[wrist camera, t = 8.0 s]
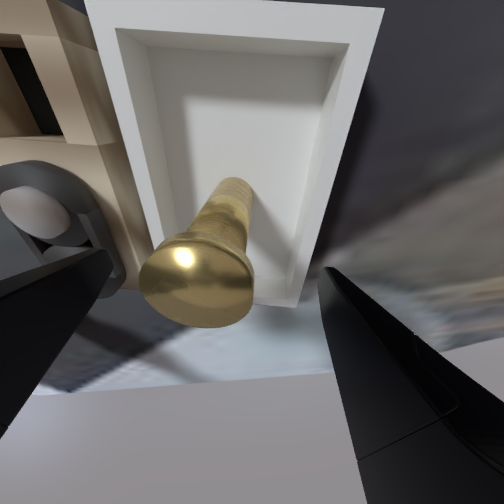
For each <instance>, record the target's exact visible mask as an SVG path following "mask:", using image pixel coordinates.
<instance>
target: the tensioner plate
mask: <svg viewBox="0 0 504 504" xmlns="http://www.w3.org/2000/svg"><path fill="white" fill-rule="evenodd" d="M0 47H13V48H26V49H27V51H28V53H29V56H30V58H31V60H32V63H33V65H34V67H35V69H36V72H37V74H38V76H39V79H40V81H41V83H42V86H43V88H44V90H45V93H46V95H47V97H48V100H49V102H50V104H51V107H52V109H53V111H54V113H55V116H56V118H57V120H58V123H59V125H60V127H61V130H62V132H63V134H64V135H51V134H42V133H41V131H40V129H39V127H38V125H37V123H36V121H35V119H34V117H33V115H32V113H31V110H30V108H29V106H28V104H27V102H26V100H25V98H24V96H23V94H22V92H21V90H20V88H19V86H18V84H17V82H16V80H15V78H14V76H13V73H12V71H11V69H10V67H9V65H8V63H7V61H6V59H5V57H4V55H3V53H2V51H1V49H0V208H1V209H2V210H3V212H4V213H5V215H6V216H7V217H8V218H9V220H10V221H11V223H12V224H13V225H14V227H15V228H16V229H17V231H18V232H19V234H20V235H21V236H22V238H23V239H24V240H25V242H26V243H27V245H28V246H29V247H30V249H31V250H32V251H33V253H34V254H35V256H36V257H37V258H38V260H39V261H40V262H41V264H42V265H46V264H49V263H52V262H55V261H57V260H60V259H63V258H66V257H69V256H72V255H74V254H77V253H80V252H83V251H86V250H89V249H92V248H105V249H107V250H108V252H109V254H110V256H111V258H112V260H113V263H114V269H113V271H112V273H111V275H110V276H109V278H108V280H107V282H106V284H105V285H104V287H103V289H102V291H101V293H100V294H99V296H98V298H108V297H110V296H112V295H114V294H115V293H116V292H117V290H118V289H129V290H141V289H140V286H139V273H140V270H141V268H142V266H143V264H144V263H145V262H146V260H147V259H148V258H149V257H150V255H151V254H152V253H153V252H154V251H155V250H154V246H153V243H152V239H151V236H150V232H149V229H148V225H147V222H146V218H145V215H144V211H143V207H142V204H141V200H140V197H139V193H138V190H137V186H136V183H135V179H134V176H133V172H132V169H131V165H130V161H129V158H128V154H127V151H126V147H125V144H124V140H123V137H122V133H121V130H120V126H119V123H118V119H117V115H116V112H115V108H114V105H113V101H112V98H111V94H110V91H109V87H108V84H107V80H106V77H105V73H104V69H103V66H102V62H101V59H100V55H99V52H98V48H97V45H96V41H95V38H94V34H93V30H92V27H91V23H90V20H89V17H88V16H86V15H84V14H82V13H80V12H78V11H77V10H75V9H73V8H71V7H69V6H68V5H66V4H64V3H62V2H60V1H58V0H0Z"/></svg>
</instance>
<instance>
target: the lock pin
mask: <svg viewBox="0 0 504 504" xmlns="http://www.w3.org/2000/svg"><path fill="white" fill-rule="evenodd" d="M253 199H254V195H253V191H252V188H251V187H250V185H249V184H248V183H247V182H246V181H245V180H243V179H241V178H238V177H228V178H225V179H223V180H222V181H221V182H220V183H219V184H218V185H217V187H216V188H215V190H214V191H213V192H212V194H211V195H210V197H209V198H208V200H207V201H206V203H205V204H204V206H203V207H202V209H201V210H200V211H199V213H198V214H197V216H196V217H195V219H194V220H193V222H192V223H191V225H190V226H189V228H188V229H187V230H186V232H182V233H177V234H175V235H172V236H170V237H168V238H167V239H165V240H164V241H163V242H161V243H160V245H159V246H158V247H157V248H156V249H155V251H154V252H153V253H152V254H151V255H150V257H149V258H148V259H147V260H146V262H145V263H144V264H143V266H142V268H141V270H140V273H139V286H140V289H141V291H142V294H143V296H144V297H145V299H146V300H147V301H148V302H149V304H150V305H151V306H152V307H153V308H154V309H156V310H157V311H158V312H159V313H161V314H162V315H164V316H166V317H167V318H169V319H171V320H173V321H176V322H178V323H181V324H184V325H188V326H192V327H198V328H220V327H225V326H228V325H231V324H234V323H236V322H238V321H239V320H241V319H242V318H243V317H245V316H246V314H247V313H248V312H249V310H250V309H251V306H252V303H253V296H254V281H255V275H254V269H253V266H252V264H251V262H250V260H249V258H248V257H247V256H246V248H247V241H248V234H249V227H250V220H251V213H252V206H253Z"/></svg>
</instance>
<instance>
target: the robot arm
mask: <svg viewBox="0 0 504 504" xmlns="http://www.w3.org/2000/svg"><path fill="white" fill-rule="evenodd" d="M113 269H114V263H113V260H112V258H111V256H110V254H109V252H108V250H107V249H105V248H92V249H89V250H86V251H83V252H80V253H77V254H74V255H72V256H69V257H66V258H63V259H60V260H57V261H55V262H52V263H49V264H46V265H43V266H40V267H37V268H35V269H32V270H29V271H26V272H23V273H20V274H17V275H15V276H12V277H9V278H6V279H3V280H0V439H1V437H2V436H3V435H4V433H5V432H6V430H7V429H8V426H9V425H10V424H11V423H12V421H13V420H14V418H15V417H16V415H17V414H18V412H19V411H20V410H21V408H22V407H23V405H24V404H25V402H26V401H27V399H28V398H29V397H30V395H31V394H32V392H33V391H34V389H35V388H36V387H37V385H38V384H39V382H40V381H41V379H42V378H43V376H44V375H45V374H46V372H47V371H48V369H49V368H50V366H51V365H52V363H53V362H54V361H55V359H56V358H57V356H58V355H59V353H60V352H61V350H62V349H63V348H64V346H65V345H66V343H67V342H68V340H69V339H70V337H71V336H72V335H73V333H74V332H75V330H76V329H77V327H78V326H79V325H80V323H81V322H82V320H83V319H84V317H85V316H86V314H87V313H88V311H89V310H90V309H91V307H92V306H93V304H94V303H95V301H96V300H97V298H98V296H99V294H100V293H101V291H102V289H103V287H104V285H105V284H106V282H107V280H108V278H109V276H110V275H111V273H112V271H113ZM318 294H319V302H320V310H321V317H322V322H323V327H324V331H325V335H326V339H327V343H328V347H329V351H330V355H331V359H332V363H333V367H334V371H335V375H336V379H337V383H338V386H339V391H340V395H341V399H342V403H343V407H344V411H345V415H346V419H347V423H348V427H349V431H350V435H351V439H352V443H353V447H354V451H355V455H356V459H357V460H358V462H357V463H358V468H359V472H360V476H361V480H362V484H363V488H364V492H365V496H366V500H367V504H504V402H503V401H501V400H500V399H498V398H497V397H496V396H495V395H493V394H492V393H490V392H489V391H488V390H487V389H485V388H484V387H482V386H481V385H480V384H478V383H477V382H476V381H474V380H473V379H472V378H470V377H469V376H468V375H466V374H465V373H464V372H462V371H461V370H460V369H458V368H457V367H456V366H454V365H453V364H452V363H450V362H449V361H448V360H446V359H445V358H444V357H443V356H442V355H440V354H439V353H438V352H437V351H435V350H434V349H433V348H432V347H430V346H429V345H428V344H427V343H425V342H424V341H423V340H422V339H421V338H419V337H418V336H417V335H414V333H413V332H412V331H411V330H410V329H408V328H407V327H406V326H405V325H403V324H402V323H401V322H400V321H399V320H397V319H396V318H395V317H394V316H393V315H391V314H390V313H389V312H388V311H386V310H385V309H384V308H383V307H382V306H380V305H379V304H378V303H377V302H376V301H374V300H373V299H372V298H371V297H369V296H368V295H367V294H366V293H365V292H363V291H362V290H361V289H360V288H359V287H357V286H356V285H355V284H354V283H352V282H351V281H350V280H349V279H348V278H346V277H345V276H344V275H343V274H341V273H340V272H339V271H338V270H337V269H335V268H333V267H324V268H323V269H322V271H321V274H320V277H319V280H318Z"/></svg>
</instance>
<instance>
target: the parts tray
mask: <svg viewBox="0 0 504 504" xmlns="http://www.w3.org/2000/svg"><path fill="white" fill-rule="evenodd" d="M84 2H85V6H86V9H87V13H88V16H89V20H90V23H91V27H92V30H93V34H94V38H95V41H96V45H97V48H98V52H99V55H100V59H101V62H102V66H103V69H104V73H105V77H106V80H107V84H108V87H109V91H110V94H111V98H112V101H113V105H114V108H115V112H116V115H117V119H118V123H119V126H120V130H121V133H122V137H123V140H124V144H125V147H126V151H127V154H128V158H129V161H130V165H131V169H132V172H133V176H134V179H135V183H136V186H137V190H138V193H139V197H140V200H141V204H142V207H143V211H144V215H145V218H146V222H147V225H148V229H149V232H150V236H151V239H152V243H153V246H154V250H155V249H156V248H157V247H158V246H159V245H160V243H161V242H163V241H164V240H165V239H167V238H168V237H170V236H172V235H175V234H177V233H182V232H186V230H187V229H188V228H189V226H190V225H191V223H192V222H193V220H194V219H195V217H196V216H197V214H198V213H199V211H200V210H201V209H202V207H203V206H204V204H205V203H206V201H207V200H208V198H209V197H210V195H211V194H212V192H213V191H214V190H215V188H216V187H217V185H218V184H219V183H220V182H221V181H222V180H223V179H225V178H228V177H238V178H241V179H243V180H245V181H246V182H247V183H248V184H249V185H250V187H251V188H252V191H253V195H254V199H253V206H252V213H251V220H250V227H249V234H248V241H247V248H246V256H247V257H248V258H249V260H250V262H251V264H252V266H253V269H254V275H255V281H254V296H253V303H252V304H256V305H268V306H280V307H291V308H297V304H298V301H299V298H300V294H301V291H302V287H303V284H304V281H305V277H306V274H307V270H308V267H309V264H310V260H311V257H312V253H313V250H314V247H315V243H316V240H317V237H318V233H319V230H320V226H321V223H322V220H323V216H324V213H325V209H326V206H327V203H328V199H329V196H330V193H331V189H332V186H333V182H334V179H335V176H336V172H337V169H338V165H339V162H340V159H341V155H342V152H343V148H344V145H345V142H346V138H347V135H348V132H349V128H350V125H351V121H352V118H353V115H354V111H355V108H356V104H357V101H358V98H359V94H360V91H361V88H362V84H363V81H364V77H365V74H366V71H367V67H368V64H369V60H370V57H371V54H372V50H373V47H374V43H375V40H376V37H377V33H378V30H379V27H380V23H381V20H382V16H383V13H384V10H385V8H372V7H356V6H341V5H325V4H310V3H294V2H279V1H263V0H84Z"/></svg>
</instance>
